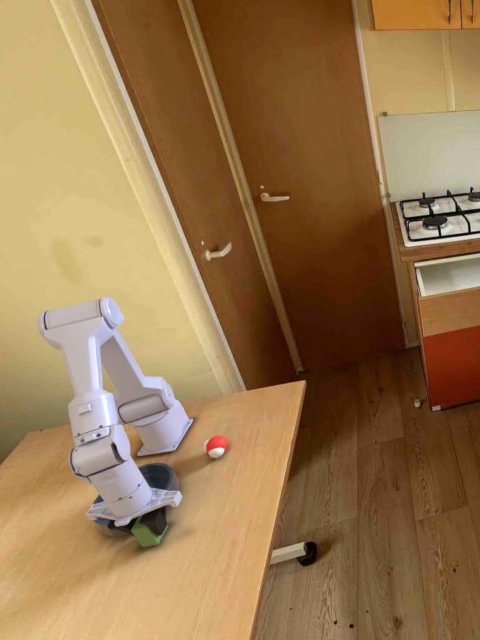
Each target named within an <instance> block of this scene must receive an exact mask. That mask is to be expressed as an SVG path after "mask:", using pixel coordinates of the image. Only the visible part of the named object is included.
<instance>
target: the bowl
mask: <svg viewBox="0 0 480 640" xmlns="http://www.w3.org/2000/svg"><path fill="white" fill-rule="evenodd" d="M137 467H138V469H139V470H140V472H141V474H142V475H143V477H144V479H145V480H146V482H147V483H148V485H149V487H150V488H156V489H161V490H167V491H180V489H181V484H180V480H179V478H178V476H177V475H176V473H175V471H174V470H173V468H172V467H171V466H170V465H169V464H167V463H165V462H164V463H163V462H152V463H151V462H150V463H146V464H141V465H139V466H137ZM101 502H104V500H103V499H102V497H101V496H100V494H99V493H98V495H97V497H96V498H95V499H94V500H93V502H92V505H93V504H97V503H101ZM170 508H172V507H171V505H167V507H166V512H167V511H169V509H170ZM110 521H111V519H106V518H101V517H98V519H96V520H93V521H92V522H93V523H94V524H95V526H96V527H97V529H99V531H100V532H101V533H102V534H103V535H105V536H108V537H112V538H118V537H123V536H125V537H126V536H128V535H130V534H128V533H125V532H123V531H119V530H110V529H108V527H107V526H108V524H109V522H110Z"/></svg>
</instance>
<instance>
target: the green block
mask: <svg viewBox="0 0 480 640" xmlns="http://www.w3.org/2000/svg"><path fill="white" fill-rule="evenodd" d="M142 516H143V515H140V516H139V517H138V519H137V521H136V522H135V524H134V526H133V527H132V529H131V532H132V533H133V534H134V536H135V537H136V538H135V537H134V538H135V539H136V540H137V542H138V543H139V545H140V546H141V547H142V548H145V547H153V546H158V545H159V544H160V542H161V540H162V539H163V537H164V535H165V533H166V531H167V529H168V527H169V525H168V524H167V526H166V528H165V530H164V532H163V534H162V535H159V536H158V535H156V534H155V533H154V532H153V531H152V530H151V529H150V528H149V527H148V526H146V525H143V524H139V521H140V519H141V517H142Z"/></svg>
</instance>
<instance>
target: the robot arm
mask: <svg viewBox="0 0 480 640" xmlns="http://www.w3.org/2000/svg"><path fill="white" fill-rule="evenodd" d="M36 321H37V329H38V331H39V334H40V335H41V337H42V338H43V339H44V340H45V341H46V342H47V343H48V345H50V347H52V348H53V349H55V350H57V351H60V352H61V355H62V358H63V362H64V364H65V368H66V371H67V374H68V377H69V380H70V384H71V387H72V391H73V393H74V397H73V398H72V399H71V401H70V402H69V403H68V405H67V412H68V417H69V423H70V428H71V433H72V440H73V445H74V447H72V448H71V449H70V450H69V454H68V463H69V466H70V469H71V471H72V474H73V476H74V477H75V478H76V479H78V480H83V482H84V483H85V484H86V485H92V486H93V487H94V489H95V490H96V492H97V493H98V495H99V494H100V496H101V497H102V499H103V500H104V502H101V503H97V504H93V503H92V505H91V506H90V508H89V509H88V510H87V511H86V513H85V516H86V518H87V519H88V520H89V521H90V522H91V521H92V522H93V520H96V519H98V517H101V518H106V519H111V521H110V522H109V524H108V526H107V527H108V529H110V530H119V531H123V532H125V533H128V534H129V535H130V536H131V537H134V538H135V539H136V537H135V536H134V534H133V533H132V532H131V529H132V527H133V526H134V524H135V522H136V521H137V519H138V517H139V516H140V515H143V516H142V517H141V519H140V521H139V524H143V525H146V526H148V527H149V528H150V529H151V530H152V531H153V532H154V533H155V534H156V535H158V536H159V535H162V534H163V532H164V530H165V528H166V526H167V525H168V523H167V522H168V521H167V511H166V507H167V505H171V507H170V508H177V507H178V506H179V505H180V503H181V502H182V499H183V495H182V493H181V491H180V490H179V491H167V490H161V489H156V488H150V487H149V485H148V483H147V482H146V480H145V479H144V477H143V475H142V474H141V472H140V470H139V469H138V467H139V466H138V465H137V464H136V462H135V461H134V459H133V457H132V455H131V444H130V443H131V442H130V439H129V436H128V435H127V433H126V431H125V428H124V425H127V426H128V427H129V428H132V427H133V429H134V430H135V432H136V434H137V435H138V437H139V439H140V440H141V442H142V444H143V445H142V446H141V448H140V449H139V450H138V452H137V454H136V455H137V456H138V457H142V456H149V455H157V454H162V453H163V454H164V453H170V452H175V451H176V449H177V448H178V446H179V444H180V443H181V441H182V440H183V439H184V437H185V435H186V434H187V432H188V430H189V429H190V427H191V425H192V424H193V422H194V419H193V418H189V417H188V414H187V413H186V410H185V409H184V406H183V405H182V403H181V402H180V401H179V400H178V399H176V398H175V395H174V391H173V389H172V386H171V385H170V384H169V383H167V381H166V380H165V379H164V378H163V376H157V375H144V373H143V372H142V370H141V368H140V366H139V365H138V363H137V361H136V360H135V357H134V356H133V354H132V352H131V351H130V349H129V347H128V345H127V343H126V342H125V340H124V338H123V336H122V334H121V332H120V331H119V329H118V328H119V327H120V326H121V325H122V324H123V323H124V322H125V317H124V314H123V312H122V311H121V309H120V307H119V305H118V304H117V302H116V300H115V299H114V298H112V297H109V296H103V297H101V298H98V299H94V300H90V301H84V302H81V303H77V304H72V305H67V306H63V307H59V308H54V309H46V310H43V311H41V312H40V314H39V315H38V317H37V320H36ZM102 367H103V368H102ZM103 369H104V371H105V372H106V373H107V375H108V377H109V378H110V380H111V382H112V383H113V385H114V386H115V388H116V389H115V390H113V392H110V391H107V390H105V389H104V383H103V372H102V371H103Z"/></svg>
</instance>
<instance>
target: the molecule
mask: <svg viewBox="0 0 480 640" xmlns="http://www.w3.org/2000/svg"><path fill="white" fill-rule="evenodd" d="M228 442H229V441H228V439H227V438H226V437H225V436H223V435H215V436H212V437H211V438H208V439H206V440H205V441H204V443H203V444H202V450H203V451H204V452H205V453H207V454H208V456H209V457H210V458H212V459H218V458H220V457H221V456H222V455H223V454H224V453H225V451H226V449H227V447H228V445H229V443H228Z"/></svg>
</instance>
